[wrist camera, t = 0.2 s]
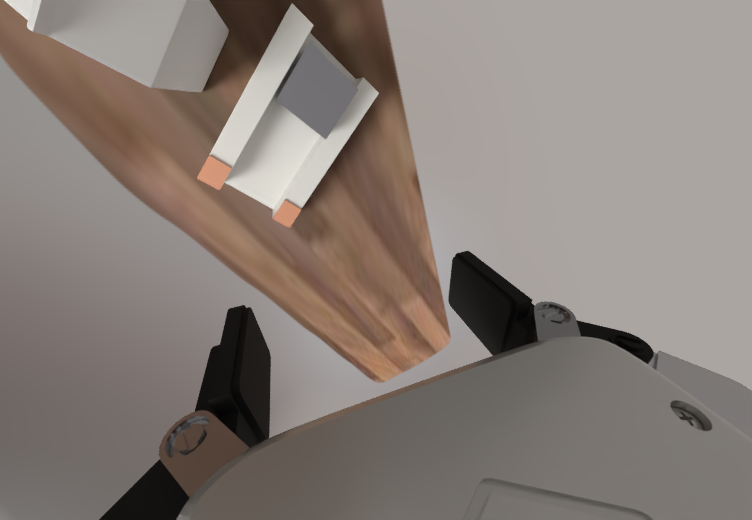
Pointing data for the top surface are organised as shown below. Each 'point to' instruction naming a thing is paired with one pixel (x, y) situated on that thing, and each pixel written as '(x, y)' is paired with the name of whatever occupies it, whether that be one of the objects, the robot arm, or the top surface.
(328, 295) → the top surface
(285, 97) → the block
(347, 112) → the chute
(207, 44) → the milk carton
